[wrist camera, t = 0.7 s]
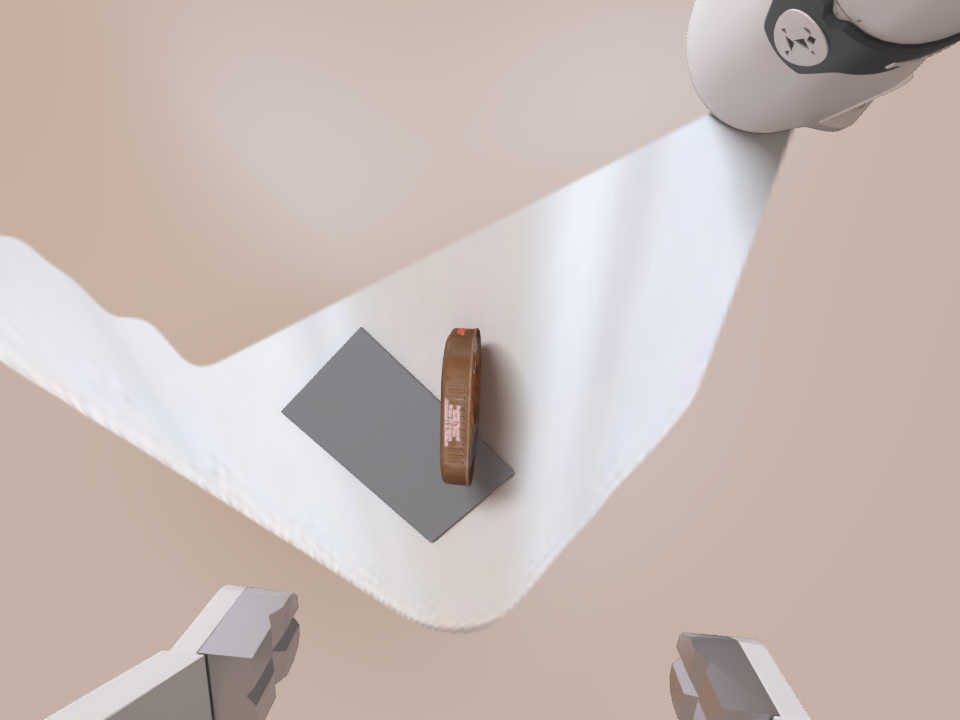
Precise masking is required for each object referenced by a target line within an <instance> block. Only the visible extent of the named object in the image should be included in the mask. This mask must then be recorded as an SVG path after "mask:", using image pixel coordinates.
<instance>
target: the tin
mask: <svg viewBox="0 0 960 720" xmlns="http://www.w3.org/2000/svg"><path fill="white" fill-rule="evenodd" d="M480 365H481V337H480V331H479V329H478V328H476V329H465V328H455V329H453V330H452V332H451V334H450V335H449V337H448V339H447V341H446V345H445V350H444V357H443V366H442V380H441V419H440V469H441V477H442V480H443V482H444V483H446V484H452V485H463V486H467V487H470V486H471V483H472V479H473V473H474V465H475V458H476V451H477V436H478V415H479V390H480Z"/></svg>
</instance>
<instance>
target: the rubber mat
mask: <svg viewBox="0 0 960 720" xmlns="http://www.w3.org/2000/svg"><path fill="white" fill-rule="evenodd" d="M281 412H282V413H283V414H284V415H285V416H286V417H287V418H289V419H290V420H291V421H292V422H293V423H294V424H295V425H297V426H298V427H299V428H300V429H301V430H302V431H304V432H305V433H306V434H307V435H308V436H309V437H310V438H312V439H313V440H314V441H315V442H316V443H317V444H318V445H320V446H321V447H322V448H323V449H324V450H325V451H326V452H328V453H329V454H330V455H331V456H332V457H333V458H334V459H336V460H337V461H338V462H339V463H340V464H341V465H342V466H344V467H345V468H346V469H347V470H348V471H349V472H350V473H352V474H353V475H354V476H355V477H356V478H357V479H359V480H360V481H361V482H362V483H363V484H364V485H365V486H367V487H368V488H369V489H370V490H371V491H372V492H373V493H375V494H376V495H377V496H378V497H379V498H380V499H381V500H383V501H384V502H385V503H386V504H387V505H388V506H389V507H391V508H392V509H393V510H394V511H395V512H396V513H397V514H399V515H400V516H401V517H402V518H403V519H404V520H406V521H407V522H408V523H409V524H410V525H411V526H412V527H414V528H415V529H416V530H417V531H418V532H419V533H420V534H422V535H423V536H424V537H425V538H426V539H427V540H428V541H430V542H432V541H434V540H435V539H436V538H437V537H438V536H440V535H441V534H442V533H443V532H444V531H446V530H447V529H448V528H449V527H450V526H451V525H453V524H454V523H455V522H456V521H457V520H459V519H460V518H461V517H462V516H463V515H465V514H466V513H467V512H468V511H469V510H471V509H472V508H473V507H474V506H475V505H477V504H478V503H479V502H480V501H481V500H483V499H484V498H485V497H486V496H487V495H489V494H490V493H491V492H492V491H493V490H494V489H496V488H497V487H498V486H499V485H500V484H502V483H503V482H504V481H505V480H506V479H508V478H509V477H510V476H511V475H512V474H514V471H513V470H512V469H511V468H510V467H509V466H508V465H507V464H506V463H505V462H504V461H503V460H502V459H501V458H500V457H499V456H497V455H496V454H495V453H494V452H493V451H492V450H491V449H490V448H489V447H488V446H487V445H486V444H485V443H484V442H483V441H482V440H481V439H479V438H478V437H477V451H476V458H475V465H474V473H473V479H472V483H471V486H470V487H467V486H463V485H452V484H446V483H444V482H443V480H442V477H441V469H440V419H441V402H440V401H439V400H438V399H437V398H436V397H435V396H434V395H433V394H432V393H431V392H430V391H429V390H428V389H427V388H426V387H424V386H423V385H422V384H421V383H420V382H419V381H418V380H417V379H416V378H415V377H414V376H413V375H412V374H411V373H410V372H409V371H408V370H406V369H405V368H404V367H403V366H402V365H401V364H400V363H399V362H398V361H397V360H396V359H395V358H394V357H393V356H392V355H391V354H390V353H388V352H387V351H386V350H385V349H384V348H383V347H382V346H381V345H380V344H379V343H378V342H377V341H376V340H375V339H374V338H373V337H372V336H370V335H369V334H368V333H367V332H366V331H365V330H364V329H363V328H362V327H361V328H360V329H359V330H358V331H357V332H356V333H355V334H354V335H353V336H352V337H351V338H350V339H349V340H348V341H347V342H346V343H345V344H344V346H343V347H342V348H341V349H340V350H339V351H338V352H337V353H336V354H335V355H334V356H333V357H332V358H331V359H330V360H329V361H328V362H327V364H326V365H325V366H324V367H323V368H322V369H321V370H320V371H319V372H318V373H317V374H316V375H315V376H314V377H313V378H312V379H311V380H310V382H309V383H308V384H307V385H306V386H305V387H304V388H303V389H302V390H301V391H300V392H299V393H298V394H297V395H296V396H295V397H294V398H293V400H292V401H291V402H290V403H289V404H288V405H287V406H286V407H285V408H284V409H283V410H282V411H281Z"/></svg>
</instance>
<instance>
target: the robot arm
mask: <svg viewBox="0 0 960 720" xmlns="http://www.w3.org/2000/svg"><path fill="white" fill-rule="evenodd" d="M958 41H960V0H695V4H694V7H693V10H692V14H691V18H690V22H689V27H688V34H687V62H688V68H689V73H690V77H691V80H692V83H693V85H694V88H695V90H696V92H697V94H698V96H699V97H700V99H701V100H702V102H703V103H704V104H705V106H706V107H707V108H708V109H709V110H710V111H711V112H712V113H713V114H714V115H715V116H716V117H717V118H719V119H720V120H721V121H723V122H724V123H726V124H728V125H730V126H732V127H734V128H737V129H740V130H744V131H748V132H754V133H773V132H780V131H784V130H789V129H793V128H799V127H809V128H813V129H818V130H823V131H832V132H833V131H839V130H842V129H844V128H846V127H848V126H850V125H852V124H853V123H854V122H855V121H856V120H857V119H858V118H859V117H860V115H861V114H862V113H863V112H864V111H865V109H866V108H867V107H868V106H869V105H870V103H871V102H872V101H873V100H874V99H875V98H878V97H880V96H882V95H884V94H886V93H888V92H891V91H893V90H895V89H897V88H899V87H901V86H903V85H905V84H906V83H907V82H909V81H910V80H911V79H912V78H913V72H914V71H915V70H916V69H917V68H918V67H919V66H920V65H921V64H922V63H923V61H924V60H925V59H926V58H928V57H930V56H932V55H934V54H936V53H939V52H941V51H942V50H944V49H947V48H948V47H950V46H951V45H954V44H955V43H956V42H958ZM297 609H298V597H297V595H296V594H295V593H289V592H281V591H274V590H267V589H259V588H251V587H249V588H248V587H240V586H232V585H226V586H224V587H222V588H221V589H219V591H218V592H217V593H216V594H215V595H214V597H213V598H212V599H211V600H210V601H209V603H208V604H207V605H206V606H205V608H204V609H203V610H202V611H201V613H200V614H199V615H198V616H197V618H196V619H195V620H194V621H193V623H192V624H191V625H190V626H189V627H188V629H187V630H186V631H185V632H184V634H183V635H182V636H181V637H180V639H179V640H178V641H177V642H176V644H175V645H174V646H173V647H172V648H171V650H170V651H160V652H159V653H157V654H155V655H153V656H152V657H150V658H148V659H147V660H145V661H143V662H141V663H140V664H138V665H136V666H135V667H133V668H131V669H129V670H128V671H126V672H124V673H123V674H121V675H119V676H117V677H116V678H114V679H112V680H111V681H109V682H107V683H105V684H104V685H102V686H100V687H99V688H97V689H95V690H93V691H92V692H90V693H88V694H86V695H85V696H83V697H81V698H80V699H78V700H76V701H74V702H73V703H71V704H70V705H68V706H66V707H64V708H63V709H61V710H59V711H57V712H56V713H54V714H52V715H51V716H49V717H47V718H45V719H44V720H265V718H266V716H267V714H268V712H269V710H270V708H271V706H272V704H273V702H274V700H275V698H276V691H275V684H277V683H278V682H279V681H280V680H282V679H283V678H284V677H286V676H287V674H288V672H289V670H290V668H291V666H292V663H293V661H294V658H295V654H296V651H297V648H298V643H299V635H300V631H299V624H298V622H297V621H296V620H295V619H294V615H295V613H296V611H297ZM677 649H678V652H679V654H680V658H679V659H677V660H676V661H675V662H674V663H673V664H672V668H671V673H670V692H671V697H672V702H673V705H674V709H675V712H676V715H677V717H678V719H679V720H811V718H810V717H809V715H808V714H807V712H806V710H805V709H804V707H803V706H802V704H801V703H800V701H799V699H798V698H797V696H796V695H795V693H794V692H793V690H792V688H791V687H790V685H789V684H788V682H787V680H786V679H785V678H784V676H783V674H782V673H781V671H780V669H779V668H778V666H777V665H776V663H775V662H774V660H773V659H772V657H771V655H770V654H769V652H768V651H767V649H766V648H765V646H764V645H763V643H761V642H760V641H759V640H758V639H750V638H739V637H728V636H717V635H706V634H695V633H682V634H681V635H680V636H679V639H678V643H677Z"/></svg>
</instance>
